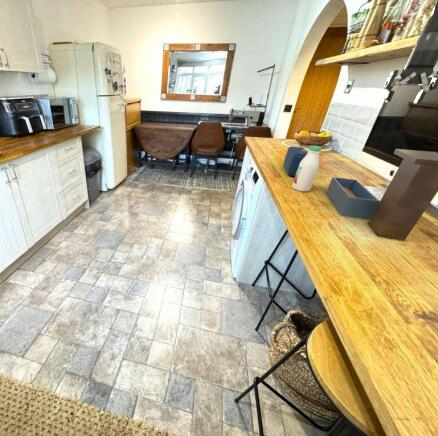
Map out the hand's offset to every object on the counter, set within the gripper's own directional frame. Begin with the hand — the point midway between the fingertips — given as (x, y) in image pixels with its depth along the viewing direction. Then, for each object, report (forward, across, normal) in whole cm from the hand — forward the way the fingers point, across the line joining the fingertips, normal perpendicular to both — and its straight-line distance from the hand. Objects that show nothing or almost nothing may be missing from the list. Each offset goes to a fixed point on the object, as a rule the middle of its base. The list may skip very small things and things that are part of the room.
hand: (401, 102), depth 89 cm
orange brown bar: (+38, -7, -12) cm, 40 cm away
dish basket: (+38, -7, -12) cm, 41 cm away
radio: (+38, -22, +26) cm, 51 cm away
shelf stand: (+38, -1, -30) cm, 49 cm away
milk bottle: (+38, -22, 0) cm, 44 cm away
